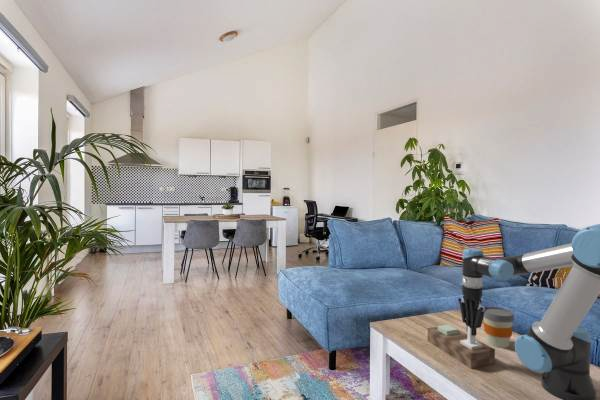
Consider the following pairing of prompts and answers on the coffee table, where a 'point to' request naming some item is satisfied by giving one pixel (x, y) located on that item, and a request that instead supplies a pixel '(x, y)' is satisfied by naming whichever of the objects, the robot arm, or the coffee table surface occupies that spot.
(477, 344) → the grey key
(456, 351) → the key panel
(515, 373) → the coffee table surface
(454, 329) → the sage key
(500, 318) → the reusable coffee cup
